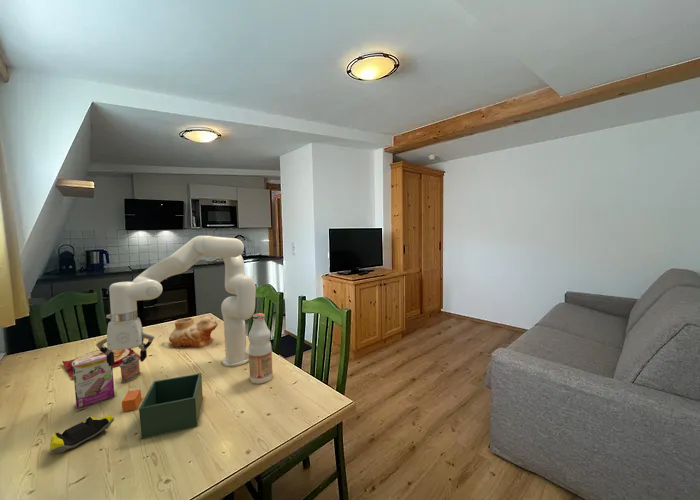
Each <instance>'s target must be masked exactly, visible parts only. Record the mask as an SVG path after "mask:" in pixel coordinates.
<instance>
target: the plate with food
mask: <svg viewBox="0 0 700 500" xmlns="http://www.w3.org/2000/svg"><path fill="white" fill-rule="evenodd" d="M112 352H113V353H114V363H113V364H112V367H113V368H114V367H120V365H121V364H122V363H123V359H124V358H126V356H131V355H132V354H134V353H136V352H135V351H134V349H132V348H129V349H121V350H112ZM100 355H105V354H104V353H103V352H101V351H100V349H98V350H97V349H96V350H93V351H90V352H88V353H87V352H86V353H84V354H82V355H79V356H78V357H76V358H74V359H70V360H62V361H61V362H62V364H63V366H64V368H65V369H66V372H67V374H68V375H69V376H70V377H71V378H73V379H74V372H73V362H75V361H79V360H84V359H88V358H92V357H96V356H100ZM136 357H138V358H139V360H141V358H140V355H138V354H137V356H136ZM136 357H134V358H136Z"/></svg>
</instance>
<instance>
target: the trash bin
mask: <svg viewBox="0 0 700 500" xmlns="http://www.w3.org/2000/svg"><path fill="white" fill-rule="evenodd" d="M202 379H203V378H202V372H200V373H199V372H198V373H193V374H188V375H187V374H186V375H183V376H177V377H170V378H165V379H158V380H153V382H152V383H151V385H150V387H149V389H148V390H147V393H146V395H145V397H144V398H143V399H142V400H143V401H142V403H141V404H140V406H139V408H138V414H139V427H140V428H139V429H140V439H141V440H142V439H148V438H151V437H157V436H159V435H160V436H161V435H165V434H170V433H173V432H178V431H183V430H187V429H191V428H196V427H198V424H199V418H200V415H201V414H200V413H201V408H202V403H203V399H204V397H203V395H204V394H203V380H202Z"/></svg>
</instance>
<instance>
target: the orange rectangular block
mask: <svg viewBox="0 0 700 500" xmlns="http://www.w3.org/2000/svg"><path fill="white" fill-rule="evenodd" d="M142 400H143V399H142V389H139V388H138V389H134V390H128V391H127V393H126V394H125V396H124V397H123V399H122V401H121V408H122V413H126V412H131V411H137V409H138V406H139V405H140V403H141V401H142Z"/></svg>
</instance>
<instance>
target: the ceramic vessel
mask: <svg viewBox="0 0 700 500" xmlns="http://www.w3.org/2000/svg"><path fill="white" fill-rule="evenodd" d="M218 325H219V323H218V322H217V320H215V319H213V317H212V316H211V315H207V316H204V317H203V318H201V319H200V320H199V321H198V322H196V323H195V322H194V318H193V317H184V318H178V319H176V320H174V327H175V328H174V329H173V330H172V331H171V332H170V334H169V336H168V341H169V342H170V343H171V344H172V346H174V348H180V349H181V348H199V349H201V348H205V347H206V346H208V345H210V344H211V343H212V341H213V337H212V336H211V335H212V332H214V331H215V330H216V328H217V327H218Z"/></svg>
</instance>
